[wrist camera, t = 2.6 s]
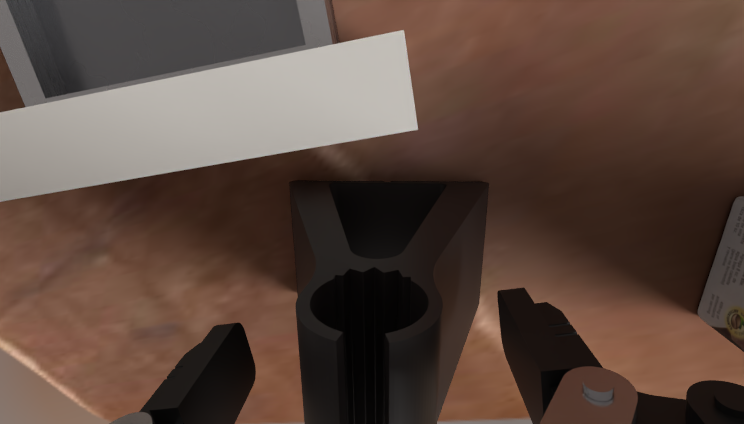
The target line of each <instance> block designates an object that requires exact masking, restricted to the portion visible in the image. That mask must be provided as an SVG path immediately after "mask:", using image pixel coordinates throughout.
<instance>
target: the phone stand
mask: <svg viewBox="0 0 744 424" xmlns="http://www.w3.org/2000/svg"><path fill="white" fill-rule="evenodd" d="M289 186H290V199H291V212H292V226H293V239H294V252H295V265H296V279H297V292H298V298H297V301H296V317H297V330H298V343H299V356H300V369H301V381H302V394H303V407H304V420H305V424H437V420H438V417H439V414H440V412H441V409H442V406H443V403H444V400H445V398H446V395H447V392H448V389H449V386H450V384H451V381H452V378H453V375H454V372H455V370H456V367H457V364H458V361H459V358H460V356H461V353H462V350H463V347H464V344H465V342H466V339H467V336H468V333H469V330H470V327H471V325H472V322H473V319H474V316H475V313H476V311H477V308H478V305H479V298H480V286H481V274H482V261H483V249H484V237H485V225H486V213H487V200H488V188H489V184H488V183H486V182H446V181H391V182H384V181H308V180H297V181H291V182H289Z"/></svg>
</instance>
